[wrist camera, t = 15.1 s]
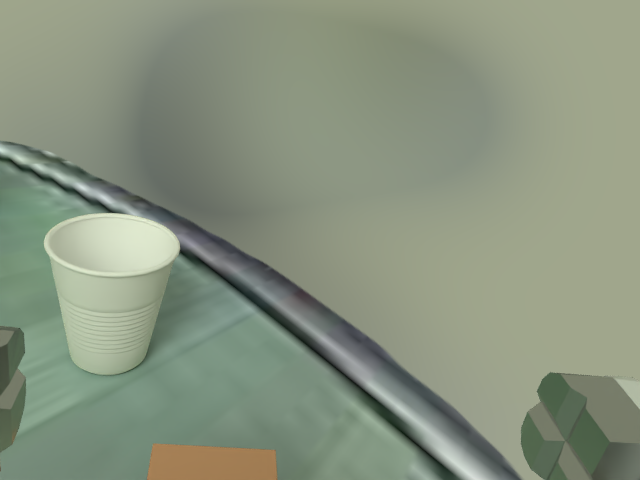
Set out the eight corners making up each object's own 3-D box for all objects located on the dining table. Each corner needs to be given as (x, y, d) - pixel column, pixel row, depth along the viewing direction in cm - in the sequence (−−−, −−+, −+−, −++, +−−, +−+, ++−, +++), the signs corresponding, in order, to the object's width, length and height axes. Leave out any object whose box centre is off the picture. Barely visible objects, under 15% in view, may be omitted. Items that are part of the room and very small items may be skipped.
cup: (148, 312, 57) (156, 209, 52) (185, 378, 50) (199, 265, 45) (34, 330, 52) (32, 216, 47) (58, 407, 44) (58, 282, 40)
